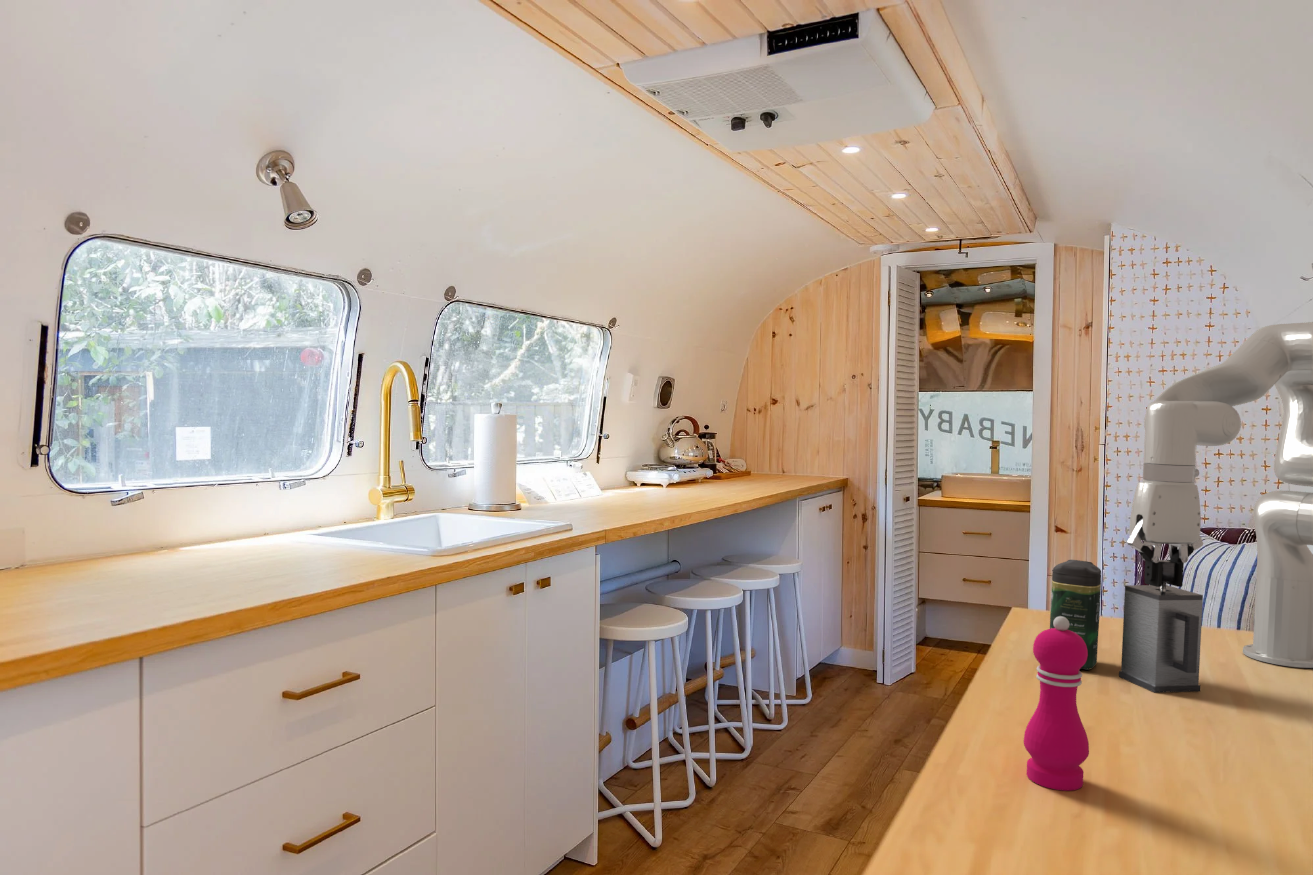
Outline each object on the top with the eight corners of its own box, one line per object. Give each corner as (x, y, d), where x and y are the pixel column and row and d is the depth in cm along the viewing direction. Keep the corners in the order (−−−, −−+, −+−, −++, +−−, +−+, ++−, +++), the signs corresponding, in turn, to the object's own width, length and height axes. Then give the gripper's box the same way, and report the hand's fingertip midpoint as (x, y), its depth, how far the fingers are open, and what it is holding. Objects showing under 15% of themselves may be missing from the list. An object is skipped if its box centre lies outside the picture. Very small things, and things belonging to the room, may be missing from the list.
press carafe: (1162, 675, 152) (1166, 584, 151) (1213, 696, 141) (1218, 599, 140) (1118, 676, 150) (1123, 585, 150) (1167, 698, 139) (1171, 599, 139)
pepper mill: (1032, 762, 112) (1039, 606, 111) (1094, 779, 107) (1101, 616, 106) (1014, 780, 106) (1021, 616, 105) (1078, 798, 101) (1086, 627, 101)
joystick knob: (1163, 637, 150) (1167, 558, 150) (1188, 646, 144) (1192, 564, 144) (1133, 638, 149) (1137, 558, 149) (1157, 647, 144) (1161, 564, 143)
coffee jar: (1094, 674, 151) (1098, 567, 151) (1044, 666, 156) (1048, 562, 155) (1100, 661, 160) (1104, 560, 159) (1052, 654, 164) (1057, 555, 163)
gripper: (1195, 474, 151) (1189, 580, 151) (1108, 472, 148) (1103, 580, 149) (1230, 478, 144) (1224, 589, 144) (1140, 476, 141) (1134, 590, 141)
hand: (1163, 584), depth 146 cm, fingers closed on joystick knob, 3 cm apart
